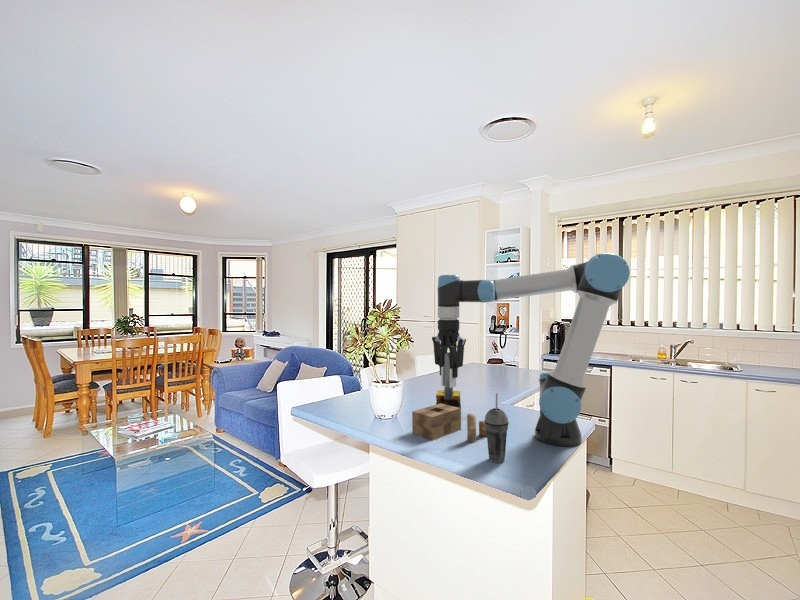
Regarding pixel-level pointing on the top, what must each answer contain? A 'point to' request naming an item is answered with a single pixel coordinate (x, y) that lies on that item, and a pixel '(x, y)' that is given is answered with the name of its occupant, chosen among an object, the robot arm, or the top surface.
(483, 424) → the short pin
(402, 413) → the top surface
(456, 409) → the hole block
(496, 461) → the beverage cup
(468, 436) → the medium pin
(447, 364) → the long pin
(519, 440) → the top surface
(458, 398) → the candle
